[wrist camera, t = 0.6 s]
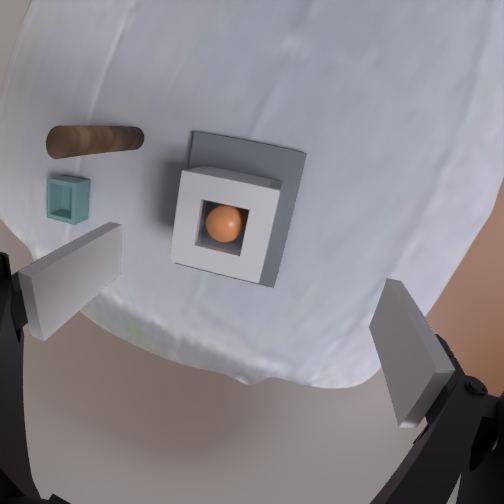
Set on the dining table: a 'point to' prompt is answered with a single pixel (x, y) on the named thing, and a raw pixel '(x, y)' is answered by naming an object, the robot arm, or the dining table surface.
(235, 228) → the button
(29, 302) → the robot arm
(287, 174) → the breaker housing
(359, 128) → the dining table surface
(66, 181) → the box
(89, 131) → the brown wooden rod
